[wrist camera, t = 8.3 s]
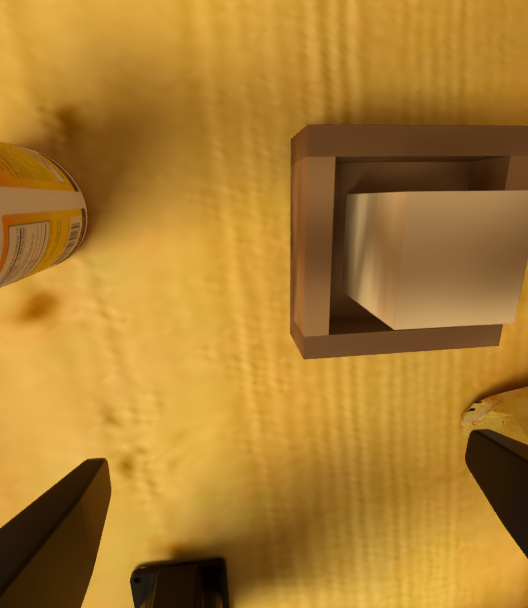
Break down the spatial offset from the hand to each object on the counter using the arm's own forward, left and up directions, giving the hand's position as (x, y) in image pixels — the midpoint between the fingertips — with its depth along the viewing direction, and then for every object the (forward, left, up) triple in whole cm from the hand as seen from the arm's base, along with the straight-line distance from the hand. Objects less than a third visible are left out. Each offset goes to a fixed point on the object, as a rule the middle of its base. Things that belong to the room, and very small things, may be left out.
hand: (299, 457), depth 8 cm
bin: (+4, -7, -12) cm, 14 cm away
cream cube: (+4, -7, -11) cm, 14 cm away
